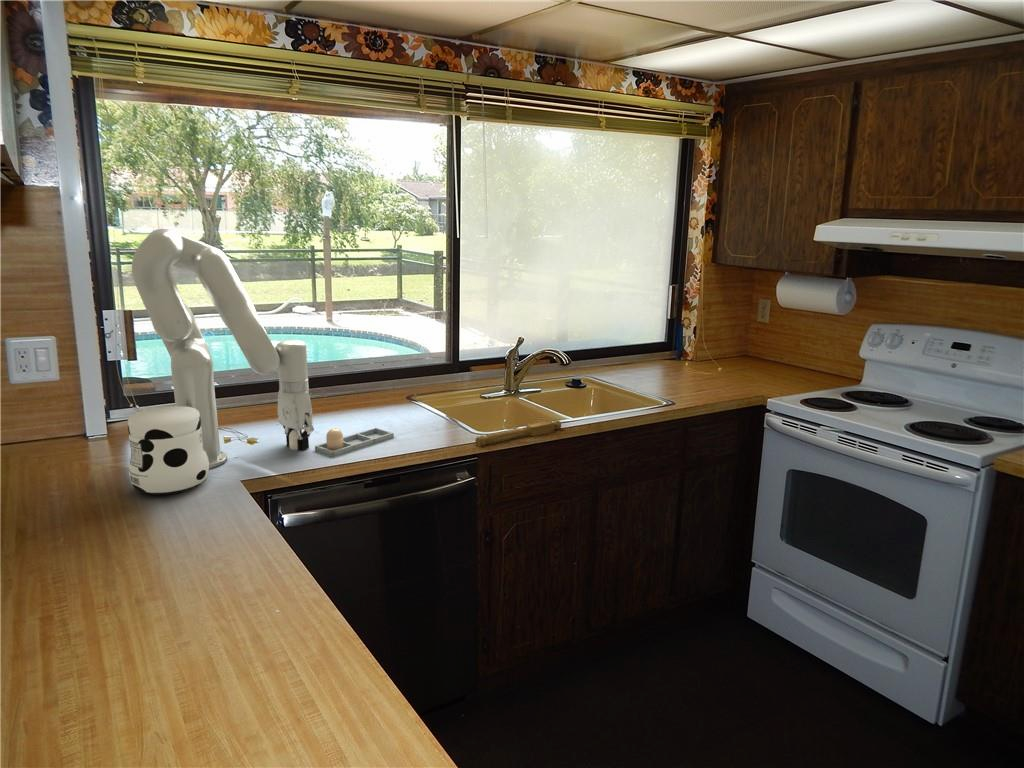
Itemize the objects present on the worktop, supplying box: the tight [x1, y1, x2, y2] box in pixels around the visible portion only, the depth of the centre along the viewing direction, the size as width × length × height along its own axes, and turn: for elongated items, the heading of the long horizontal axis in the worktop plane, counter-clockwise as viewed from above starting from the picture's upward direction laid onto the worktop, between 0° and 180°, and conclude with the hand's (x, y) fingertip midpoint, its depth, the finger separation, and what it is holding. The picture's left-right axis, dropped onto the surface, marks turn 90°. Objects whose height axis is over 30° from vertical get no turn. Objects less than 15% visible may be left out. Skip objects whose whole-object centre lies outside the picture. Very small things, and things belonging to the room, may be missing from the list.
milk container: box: [127, 405, 210, 496], centre depth 172 cm, size 17×17×18 cm
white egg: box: [288, 429, 304, 451], centre depth 199 cm, size 4×4×6 cm
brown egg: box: [325, 427, 344, 451], centre depth 196 cm, size 4×4×6 cm
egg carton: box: [312, 427, 398, 459], centre depth 202 cm, size 23×9×2 cm, turn 141°
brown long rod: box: [475, 420, 562, 447], centre depth 214 cm, size 3×3×30 cm
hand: (298, 449), depth 200 cm, fingers closed on white egg, 4 cm apart
